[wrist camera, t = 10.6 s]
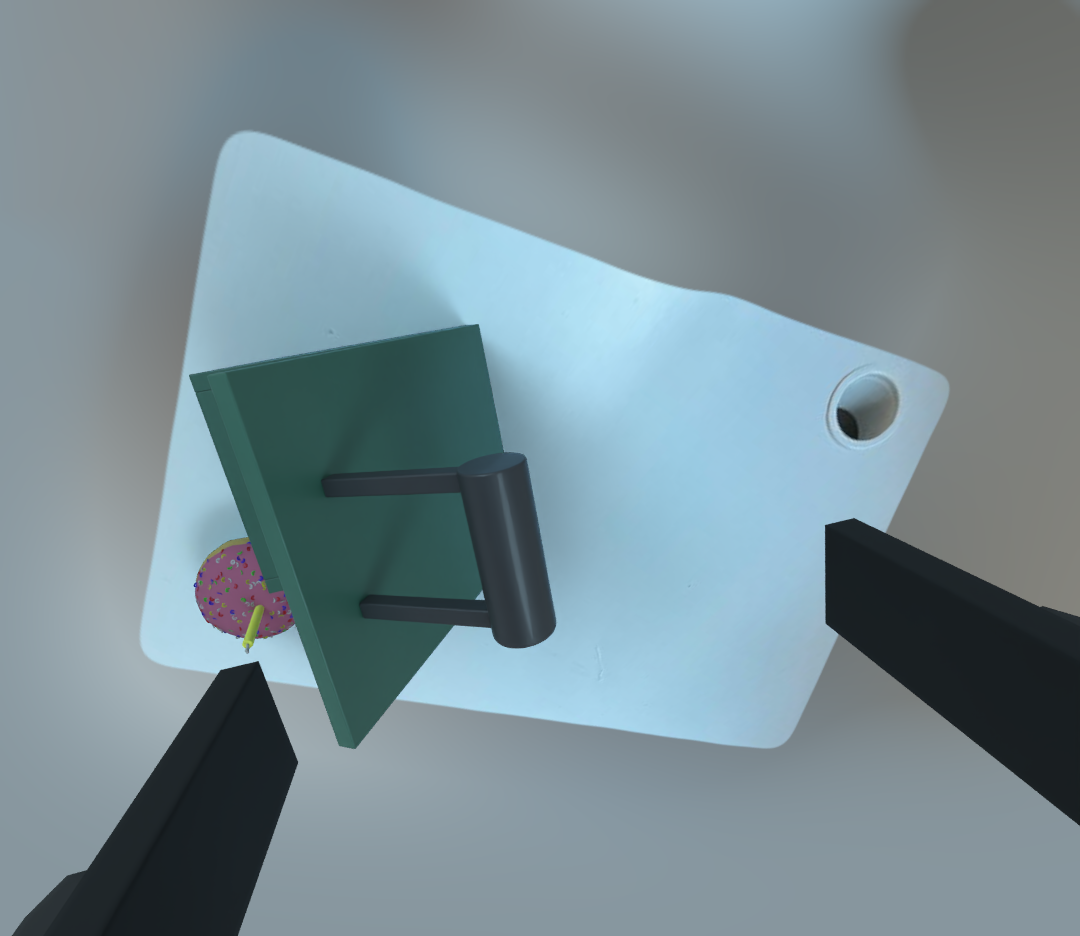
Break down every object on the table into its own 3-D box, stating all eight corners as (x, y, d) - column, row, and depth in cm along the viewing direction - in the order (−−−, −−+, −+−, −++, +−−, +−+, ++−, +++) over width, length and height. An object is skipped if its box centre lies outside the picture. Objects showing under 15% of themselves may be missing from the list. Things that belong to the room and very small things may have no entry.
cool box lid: (338, 746, 19) (550, 788, 16) (205, 375, 15) (454, 332, 12) (510, 541, 34) (638, 541, 31) (466, 325, 30) (609, 301, 27)
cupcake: (337, 535, 45) (298, 606, 34) (310, 617, 47) (264, 710, 36) (234, 506, 43) (157, 571, 32) (209, 593, 45) (127, 684, 34)
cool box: (318, 520, 45) (268, 594, 32) (267, 360, 41) (188, 375, 28) (498, 482, 47) (515, 538, 34) (466, 324, 43) (472, 324, 30)
